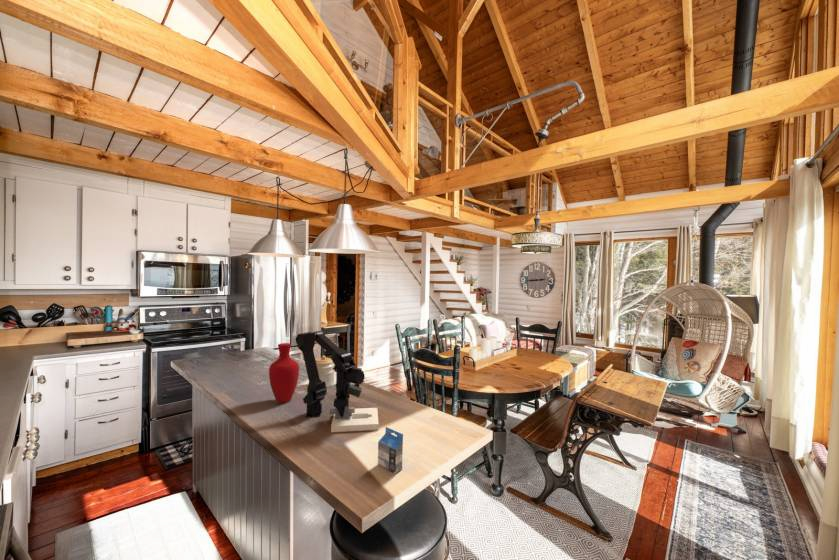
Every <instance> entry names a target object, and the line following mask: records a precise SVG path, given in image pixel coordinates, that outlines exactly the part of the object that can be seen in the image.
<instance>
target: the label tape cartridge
mask: <svg viewBox="0 0 839 560" xmlns="http://www.w3.org/2000/svg"><path fill="white" fill-rule="evenodd" d="M403 444H404V434H403V433H401V432H399V431H397V430H395V429H392V428H390V427H387V426H385V432H384V434H383V436H382V437H381V438H380V439H379V440H378V442H377V445H378V446H377V465H379V466H380V467H382V468H383V469H386V470H388V471H389V472H391V473H393V474H395V475H396V474H398V473H399V472H401V471H402V470H403V454H404V453H403V452H404V450H403V448H404V447H403V446H404V445H403Z"/></svg>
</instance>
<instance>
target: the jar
mask: <svg viewBox="0 0 839 560" xmlns="http://www.w3.org/2000/svg"><path fill="white" fill-rule="evenodd" d="M315 360H316V365H317V369H318V374H319V378H320V380H321V381H322V382H324V381H325V383H326V388H329V387H332V386H333V385H334V384H335V370H333V368H334V367H335V366H336V365H335V364H334V362H333V361H332V359H331V358H330V357H326V355H322V356H321V357H319V358H317V359H315Z"/></svg>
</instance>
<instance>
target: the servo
mask: <svg viewBox="0 0 839 560" xmlns="http://www.w3.org/2000/svg"><path fill="white" fill-rule="evenodd" d="M355 409H356V408H355V407H350V404H349V405H348V406H345V410H344V415H343V417H341V416H340V414H339V412H338V410H337V408H336V407H334V408H330V409H329V411H328V412H329V415H334V414H335V419H349V416H352V413H355Z"/></svg>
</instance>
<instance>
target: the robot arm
mask: <svg viewBox="0 0 839 560" xmlns="http://www.w3.org/2000/svg"><path fill="white" fill-rule="evenodd" d="M295 342H296V345H297V348H298V349H299V350H300V352H301V353H302V356H303V362H304V365H305V368H306V369H305V370H306V374H307V378H308V383H307V388H306V392H307V394H305V396H304V397H303V398H302V400H303V401H302V402H303V403H304V404H306V415H305V417H306V418H311V417H312V418H313V417H321V414H322V413H323V403H322V401H323V400H324V399H325V396H326V395H327V390H328V387H326V383H325V381H324V382H322V381H321V380H320V378H319V374H318V369H317V365H316V360H317V359H316V357H315V352H314V348H315V344H316V343H317V345H319V346H320V347H321V348H322V349H323V350H324V351H325V352H326V353H327V354H329V356H330V357H331V358H330V359H331V360H332V361H333V363H334V364H335V365H334V368H333V370H334V371H336V375H335V379H336V381H335V398H334V399H333V408H335V407H336V408H337V410H338V412H339V414H340V416H341V417H343V415H344V410H345V406H348V405H349V406H350V398H351V397H350V396H354V397H356V398H360V396H361V395H362V390H363V388H362V387H361V386H360V385H362V384H363V383H364V381H365V377H366V376H365V373H364V371H362V367H357V364H356V363H355V360H354V358H353V355H352V353H350V352H349V351H347V350H346V349H345V348H340V347H339V346H338V345H336V344H335V343H334V342H333V341H332V340H331V339H330V338H329V337H327V336H326V335H325V333H324V331H321V330H317V331H313V332H311V331H307V332H301V333H298V334H297V335H296V337H295Z"/></svg>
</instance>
